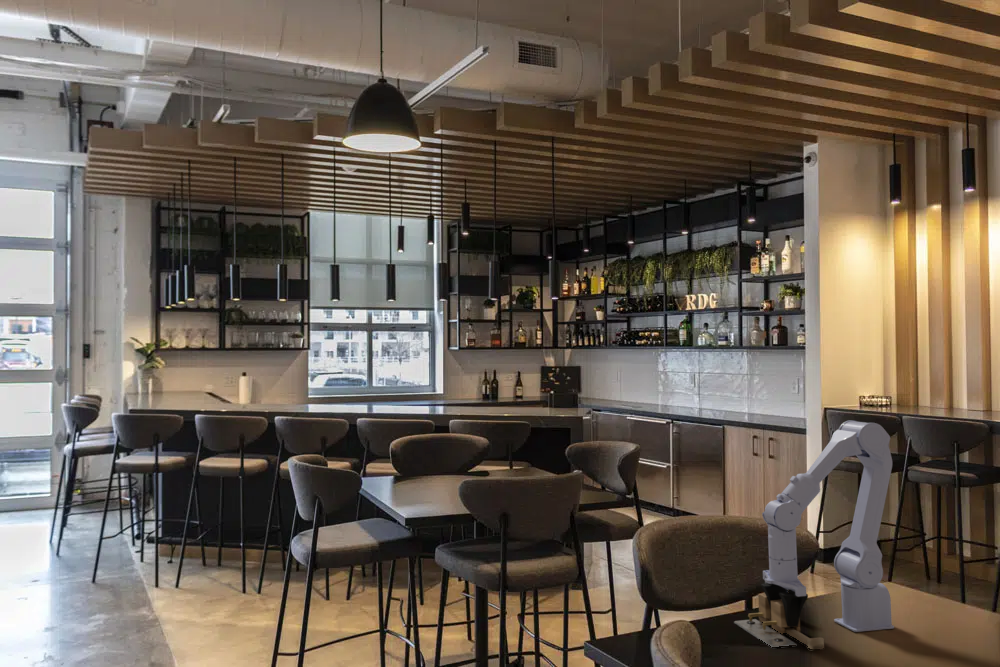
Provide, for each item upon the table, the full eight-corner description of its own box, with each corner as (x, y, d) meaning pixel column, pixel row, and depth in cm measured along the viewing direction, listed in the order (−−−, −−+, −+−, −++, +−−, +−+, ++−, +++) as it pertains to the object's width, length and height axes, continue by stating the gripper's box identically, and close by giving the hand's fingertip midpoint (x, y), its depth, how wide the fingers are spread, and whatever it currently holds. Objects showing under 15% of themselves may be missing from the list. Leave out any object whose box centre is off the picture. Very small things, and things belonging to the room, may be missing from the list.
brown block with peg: (790, 626, 179) (789, 598, 180) (800, 632, 176) (799, 604, 176) (758, 629, 178) (757, 601, 178) (767, 635, 174) (766, 606, 174)
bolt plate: (755, 621, 184) (755, 618, 184) (796, 646, 168) (796, 643, 168) (734, 622, 183) (733, 620, 183) (772, 648, 167) (772, 645, 167)
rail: (769, 616, 187) (768, 607, 187) (824, 649, 166) (823, 638, 166) (756, 617, 187) (756, 608, 187) (810, 650, 165) (810, 640, 165)
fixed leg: (777, 619, 185) (776, 592, 185) (784, 623, 182) (783, 595, 182) (746, 621, 183) (744, 594, 184) (752, 626, 181) (751, 598, 181)
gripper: (749, 551, 184) (751, 613, 183) (783, 566, 170) (785, 633, 169) (778, 549, 185) (780, 610, 185) (814, 564, 171) (817, 630, 171)
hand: (785, 621), depth 177 cm, fingers open, 5 cm apart
